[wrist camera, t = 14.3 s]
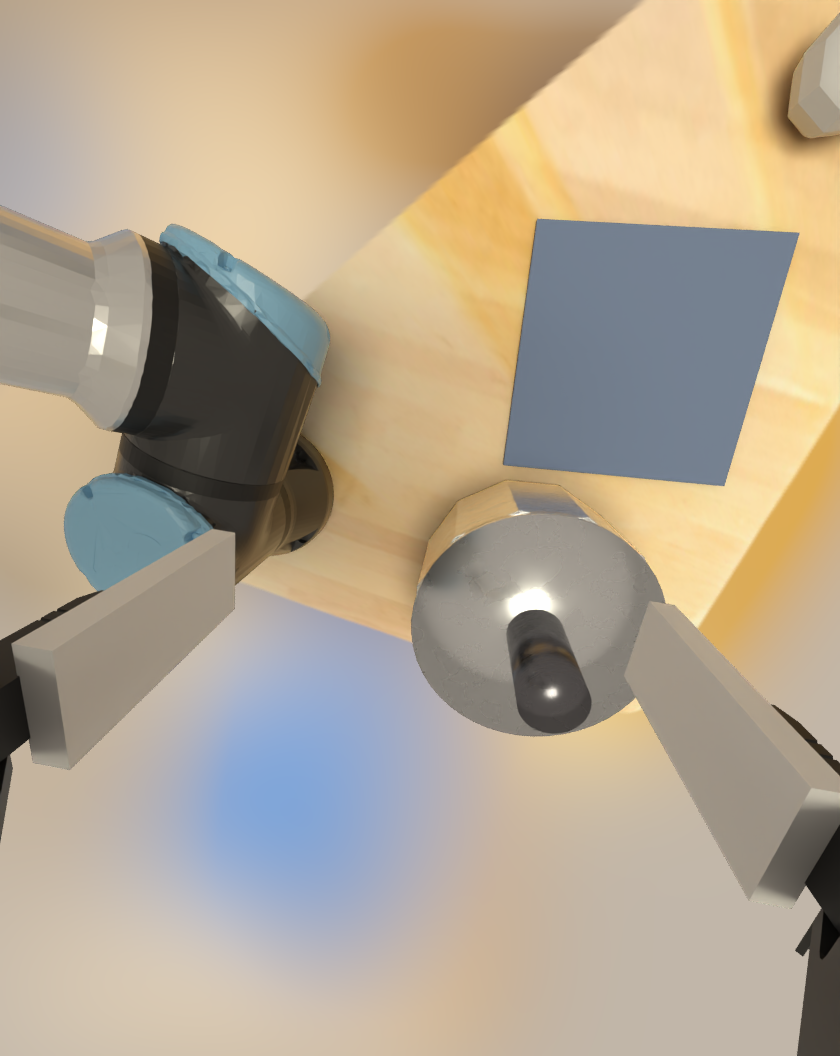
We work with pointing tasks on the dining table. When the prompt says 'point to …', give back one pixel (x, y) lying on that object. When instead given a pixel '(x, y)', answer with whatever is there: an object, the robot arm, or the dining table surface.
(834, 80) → the grey faceted round piece
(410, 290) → the dining table surface
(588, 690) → the cake dome
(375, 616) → the dining table surface
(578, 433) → the mat
